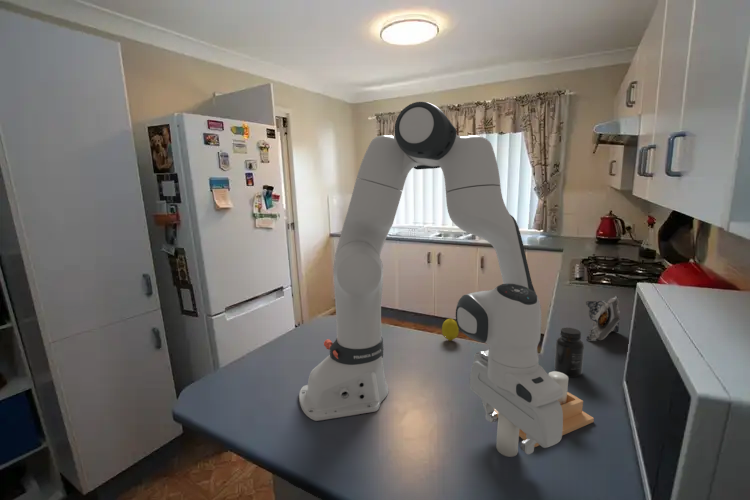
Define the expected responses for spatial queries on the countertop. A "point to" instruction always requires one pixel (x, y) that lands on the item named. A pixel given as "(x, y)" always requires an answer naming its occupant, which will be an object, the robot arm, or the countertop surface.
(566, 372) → the supplement bottle
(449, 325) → the lemon
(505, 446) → the peg
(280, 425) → the countertop surface
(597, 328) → the ornate grey picture frame
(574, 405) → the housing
